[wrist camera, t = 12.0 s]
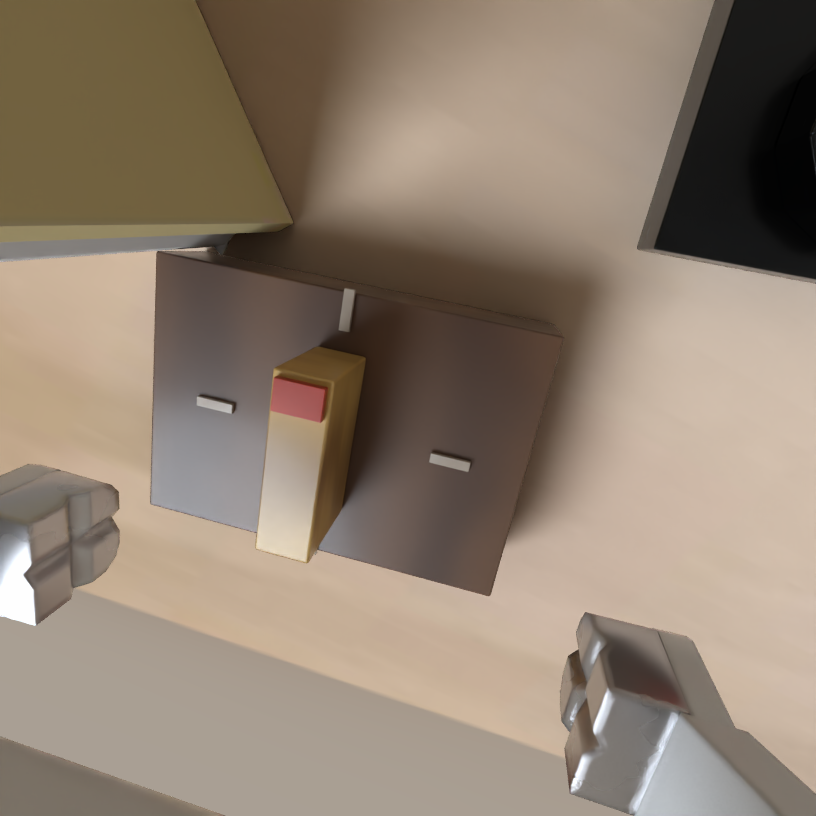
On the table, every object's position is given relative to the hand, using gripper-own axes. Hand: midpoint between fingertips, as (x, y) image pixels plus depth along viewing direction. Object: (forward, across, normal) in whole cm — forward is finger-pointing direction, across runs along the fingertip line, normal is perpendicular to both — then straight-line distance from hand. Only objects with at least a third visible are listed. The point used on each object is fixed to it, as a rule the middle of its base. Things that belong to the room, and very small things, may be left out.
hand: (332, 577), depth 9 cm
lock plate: (+12, +3, +1) cm, 13 cm away
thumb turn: (+9, +3, +1) cm, 10 cm away
